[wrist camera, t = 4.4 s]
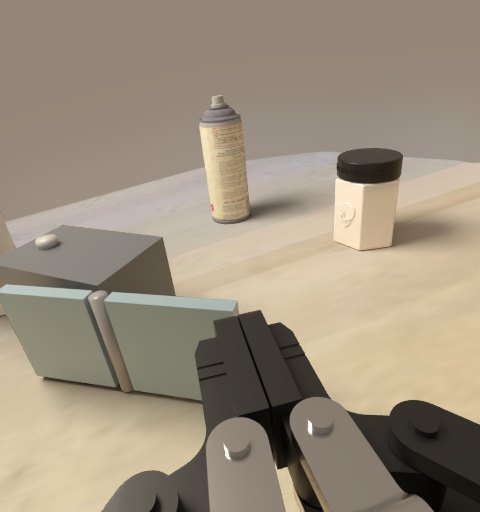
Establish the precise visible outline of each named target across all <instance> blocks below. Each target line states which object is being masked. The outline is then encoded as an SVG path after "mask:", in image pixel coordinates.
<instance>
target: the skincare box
mask: <svg viewBox="0 0 480 512" xmlns="http://www.w3.org/2000/svg"><path fill="white" fill-rule="evenodd" d="M15 249H16V247H15V245H14V243H13V240H12V238H11V236H10V233H9V231H8V229H7V227H6V224H5V222H4V220H3V217H2V216H1V213H0V257H1V256H3V255H5V254H7V253H9V252H11V251H13V250H15ZM4 315H6V314H5V312H4V310H3V308H2V306H1V304H0V316H4Z"/></svg>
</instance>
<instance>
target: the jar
mask: <svg viewBox="0 0 480 512" xmlns="http://www.w3.org/2000/svg"><path fill="white" fill-rule="evenodd" d="M402 161H403V155H402V154H401V153H400V152H398V151H395V150H390V149H381V148H366V149H356V150H350V151H346V152H344V153H341V154H340V155H339V156H338V163H337V176H338V177H337V178H336V180H335V214H334V241H336V242H338V243H341V244H343V245H346V246H349V247H351V248H354V249H356V250H359V251H361V250H368V249H375V248H383V247H390V246H391V244H392V238H393V232H394V224H395V215H396V207H397V198H398V189H399V181H400V175H401V169H402Z"/></svg>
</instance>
